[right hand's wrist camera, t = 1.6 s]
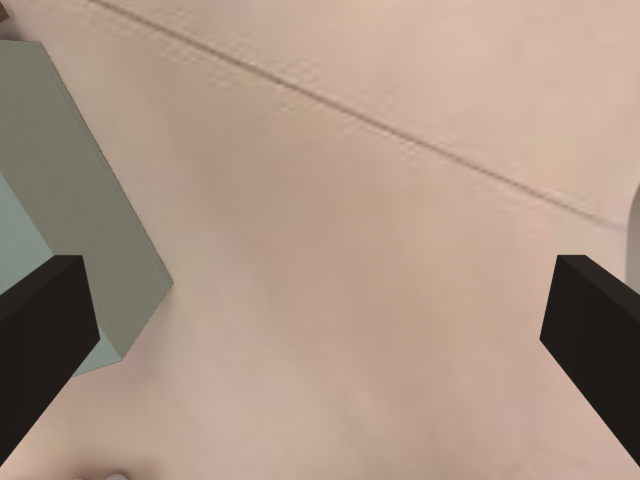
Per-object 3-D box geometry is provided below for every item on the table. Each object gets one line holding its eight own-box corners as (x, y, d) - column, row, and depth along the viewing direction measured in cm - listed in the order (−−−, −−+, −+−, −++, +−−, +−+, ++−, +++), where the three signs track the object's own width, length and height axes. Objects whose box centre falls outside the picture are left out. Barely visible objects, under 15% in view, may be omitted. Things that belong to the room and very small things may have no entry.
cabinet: (-86, 98, 33) (-265, 115, 23) (41, 42, 32) (-90, 33, 22) (64, 320, 41) (-22, 408, 30) (173, 282, 39) (121, 360, 29)
